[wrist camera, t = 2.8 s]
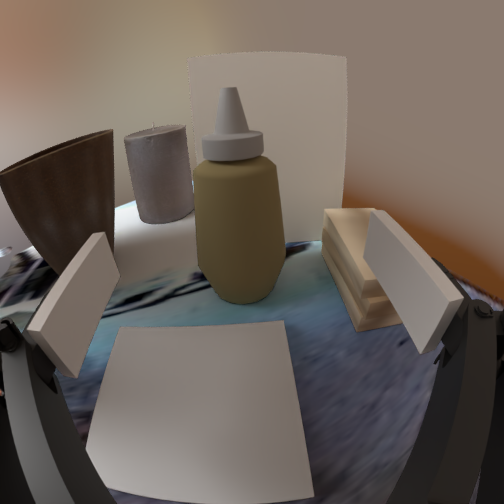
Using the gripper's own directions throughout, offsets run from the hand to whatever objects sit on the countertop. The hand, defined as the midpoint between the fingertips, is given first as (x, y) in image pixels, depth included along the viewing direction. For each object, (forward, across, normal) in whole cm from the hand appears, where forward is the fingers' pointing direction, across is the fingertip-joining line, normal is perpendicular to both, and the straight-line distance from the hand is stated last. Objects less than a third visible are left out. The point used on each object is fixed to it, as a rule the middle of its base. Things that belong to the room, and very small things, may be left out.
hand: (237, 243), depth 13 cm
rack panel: (+18, +4, -11) cm, 21 cm away
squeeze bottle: (+10, 0, -11) cm, 15 cm away
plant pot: (+15, -20, -11) cm, 27 cm away
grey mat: (-3, -4, -11) cm, 12 cm away
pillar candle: (+30, -12, -11) cm, 34 cm away
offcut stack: (+8, +12, -11) cm, 18 cm away
